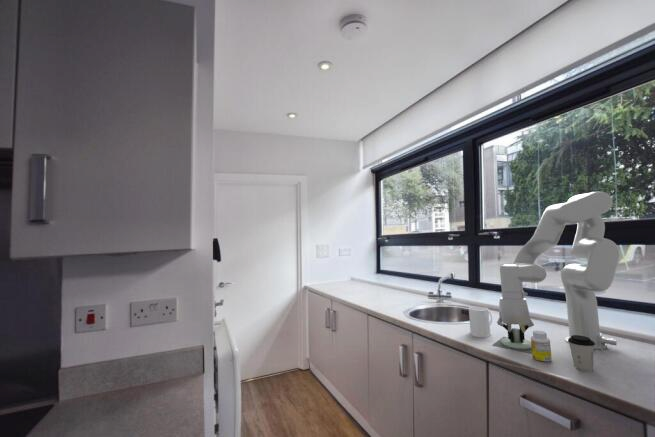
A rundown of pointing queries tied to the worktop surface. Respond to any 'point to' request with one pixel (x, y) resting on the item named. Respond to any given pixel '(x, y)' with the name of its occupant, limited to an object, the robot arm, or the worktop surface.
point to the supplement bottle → (541, 347)
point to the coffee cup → (582, 352)
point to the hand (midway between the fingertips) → (516, 341)
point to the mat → (498, 344)
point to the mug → (480, 321)
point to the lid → (516, 341)
